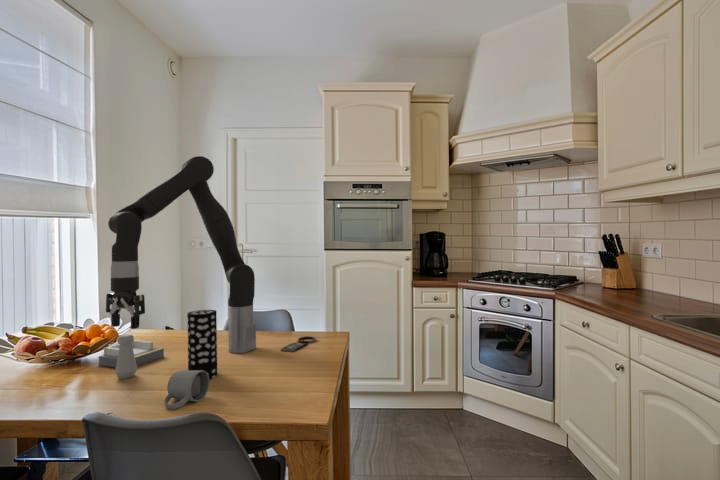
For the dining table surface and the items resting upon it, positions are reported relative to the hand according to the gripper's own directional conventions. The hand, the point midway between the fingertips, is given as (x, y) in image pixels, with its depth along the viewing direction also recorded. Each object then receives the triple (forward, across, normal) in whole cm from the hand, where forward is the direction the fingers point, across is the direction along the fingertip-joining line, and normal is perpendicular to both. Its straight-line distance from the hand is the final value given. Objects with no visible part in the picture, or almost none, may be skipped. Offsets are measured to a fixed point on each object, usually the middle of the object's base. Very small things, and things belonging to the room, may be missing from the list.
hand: (125, 327), depth 116 cm
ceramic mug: (+16, -32, +7) cm, 37 cm away
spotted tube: (+15, -23, -8) cm, 29 cm away
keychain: (+16, -34, -48) cm, 61 cm away
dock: (+15, +13, -12) cm, 23 cm away
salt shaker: (+16, 0, 0) cm, 16 cm away
